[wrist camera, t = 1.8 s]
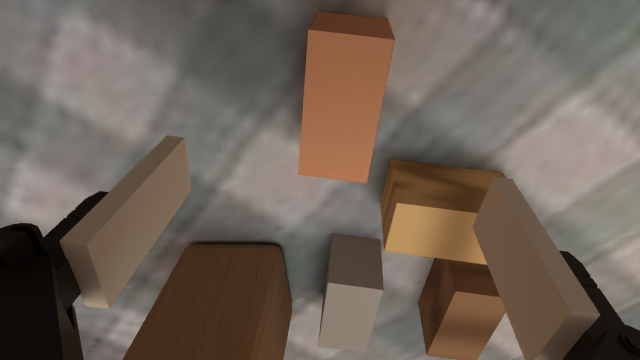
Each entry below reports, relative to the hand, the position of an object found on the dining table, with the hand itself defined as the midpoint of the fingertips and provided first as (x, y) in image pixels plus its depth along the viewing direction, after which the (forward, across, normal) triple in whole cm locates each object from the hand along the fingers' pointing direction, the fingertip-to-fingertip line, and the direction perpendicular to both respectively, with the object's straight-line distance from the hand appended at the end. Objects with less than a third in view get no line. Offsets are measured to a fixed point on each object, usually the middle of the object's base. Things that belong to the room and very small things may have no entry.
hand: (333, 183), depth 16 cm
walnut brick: (+13, +13, -18) cm, 25 cm away
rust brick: (+13, 0, 0) cm, 13 cm away
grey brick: (+13, +3, -19) cm, 23 cm away
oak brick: (+13, +9, -8) cm, 17 cm away
